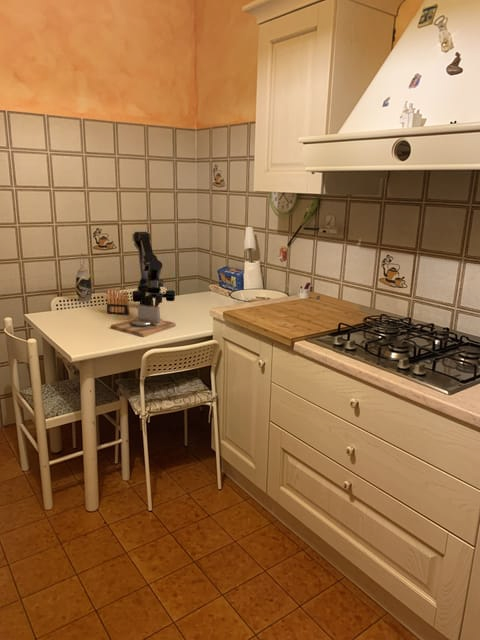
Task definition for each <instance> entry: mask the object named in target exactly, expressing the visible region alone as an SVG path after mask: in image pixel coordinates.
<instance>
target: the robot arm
mask: <svg viewBox="0 0 480 640" xmlns="http://www.w3.org/2000/svg"><path fill="white" fill-rule="evenodd" d="M131 237H132V239H131V240H132V241H133V245H134V248H136V250H137V254H138V263H139V264H138V265H139V272H140V274H139V275H140V279H139V281H138V286H137V288H136V290H132V295H131V296H132V302H133V303H139V304H143V305H149V306H158V307H159V305H160V304H161V303H163V299H165V301H166V302H174V301H175V299H176V297H175V296H176V291H175V290H174V289H166V290H165V292H163V293H161V288H164V279H163V278H162V279H160V276H161V273H162V270H163V263H162V261H160V260H159V259H158V256H156V255H155V254H154V252H153V249H152V243H151V241H152V239H151V237H152V236H151V233H149V232H148V231H134V233H133V234H132V235H131Z"/></svg>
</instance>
